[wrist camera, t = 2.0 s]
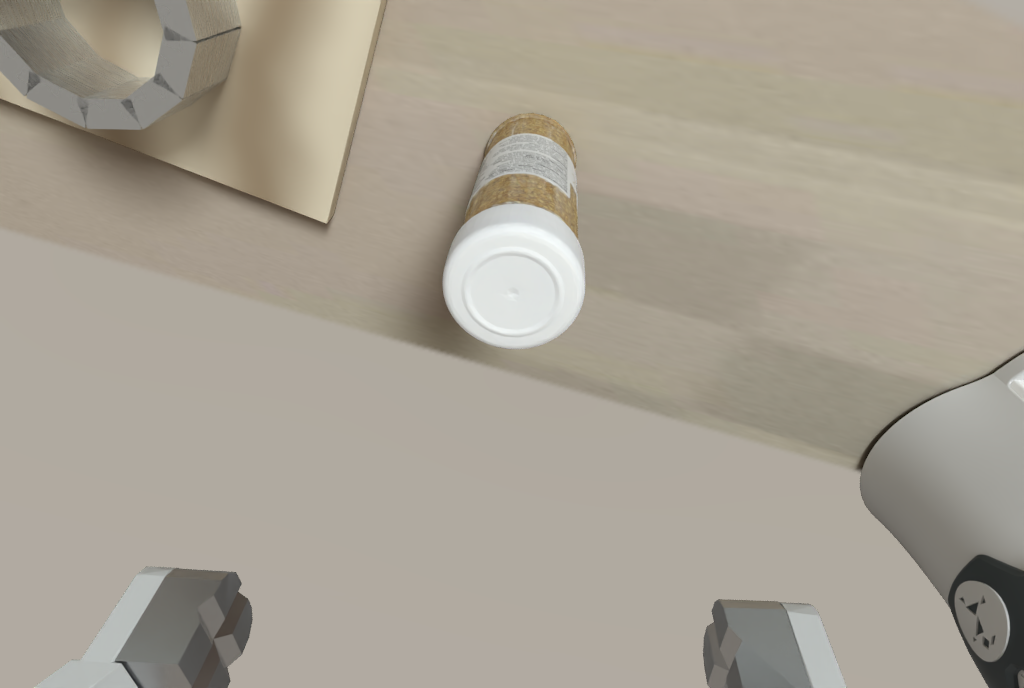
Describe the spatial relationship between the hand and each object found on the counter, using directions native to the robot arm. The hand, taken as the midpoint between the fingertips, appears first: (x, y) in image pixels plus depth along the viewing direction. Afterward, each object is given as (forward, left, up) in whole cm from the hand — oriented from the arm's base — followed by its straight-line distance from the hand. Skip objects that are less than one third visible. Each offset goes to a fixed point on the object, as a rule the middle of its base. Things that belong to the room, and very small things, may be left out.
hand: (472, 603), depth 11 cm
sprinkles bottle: (0, 0, -24) cm, 24 cm away
